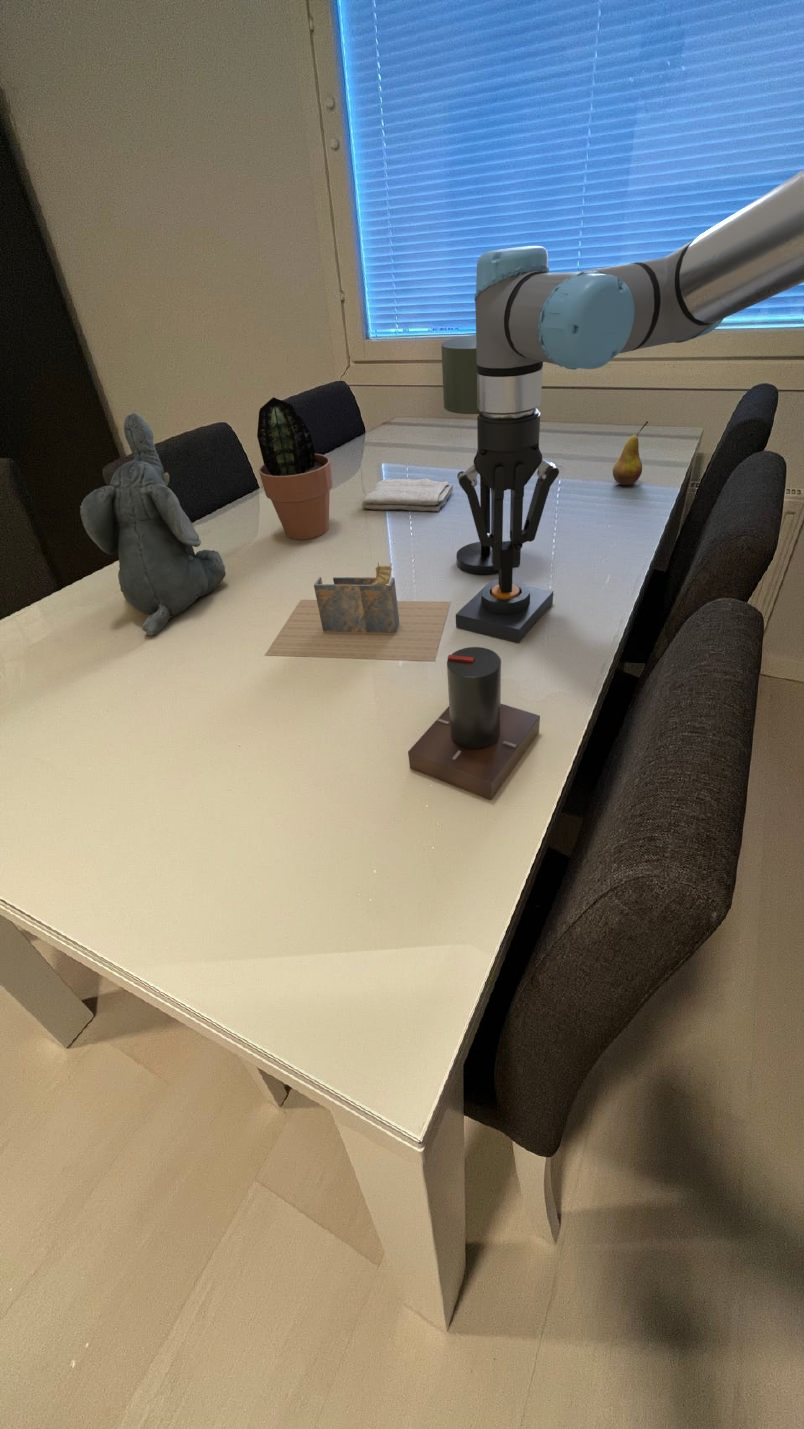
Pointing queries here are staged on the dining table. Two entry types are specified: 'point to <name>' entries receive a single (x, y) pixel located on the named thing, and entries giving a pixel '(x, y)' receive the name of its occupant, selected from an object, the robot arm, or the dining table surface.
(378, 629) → the architectural model on board
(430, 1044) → the dining table surface
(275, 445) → the potted plant
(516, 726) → the dimmer panel
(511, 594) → the button
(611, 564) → the dining table surface
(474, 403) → the desk lamp
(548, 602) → the switch box
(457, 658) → the dimmer knob
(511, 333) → the robot arm
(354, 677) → the dining table surface
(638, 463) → the fruit
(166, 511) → the stuffed elephant
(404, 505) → the washcloth
